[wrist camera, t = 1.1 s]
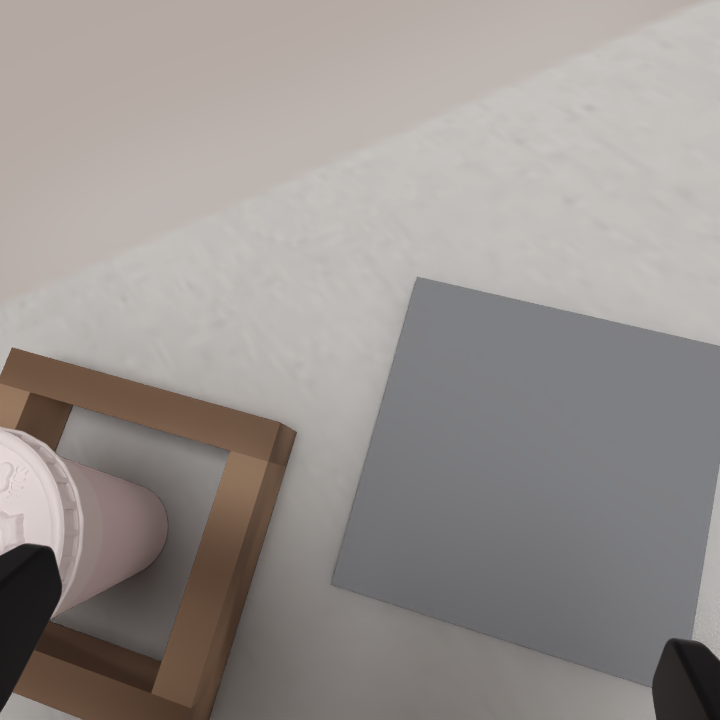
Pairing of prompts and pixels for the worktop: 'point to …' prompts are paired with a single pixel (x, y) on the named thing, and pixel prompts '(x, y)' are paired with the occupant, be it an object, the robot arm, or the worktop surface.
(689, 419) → the slate mat
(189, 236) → the worktop surface
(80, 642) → the walnut holder
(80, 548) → the smoothie
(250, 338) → the worktop surface
